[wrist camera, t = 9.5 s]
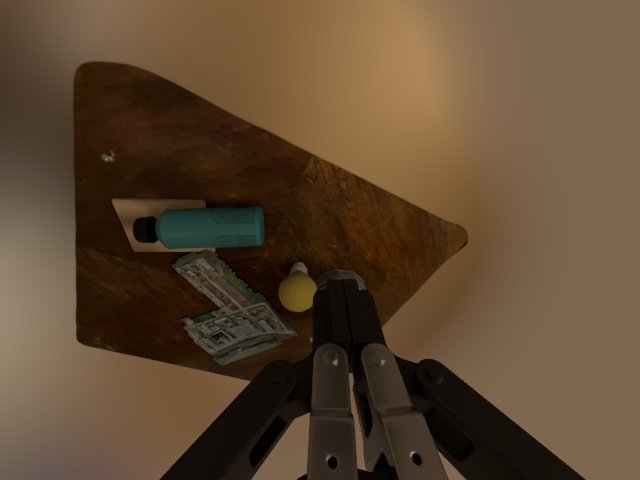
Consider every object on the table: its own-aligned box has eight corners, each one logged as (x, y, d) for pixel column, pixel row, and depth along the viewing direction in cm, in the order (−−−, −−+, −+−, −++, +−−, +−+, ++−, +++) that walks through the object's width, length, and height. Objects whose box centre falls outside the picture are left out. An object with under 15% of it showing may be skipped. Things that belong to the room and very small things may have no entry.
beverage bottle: (268, 200, 39) (125, 202, 37) (269, 245, 38) (123, 249, 37) (273, 210, 45) (150, 212, 44) (273, 248, 45) (149, 252, 43)
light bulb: (323, 267, 51) (326, 307, 43) (298, 284, 54) (296, 325, 45) (299, 247, 48) (298, 285, 40) (274, 266, 51) (267, 306, 42)
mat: (113, 198, 42) (110, 199, 41) (204, 199, 42) (203, 201, 42) (135, 249, 47) (133, 251, 47) (215, 249, 48) (214, 251, 47)
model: (214, 241, 46) (211, 247, 45) (297, 333, 62) (297, 339, 61) (124, 284, 51) (119, 290, 49) (223, 359, 67) (221, 365, 65)
